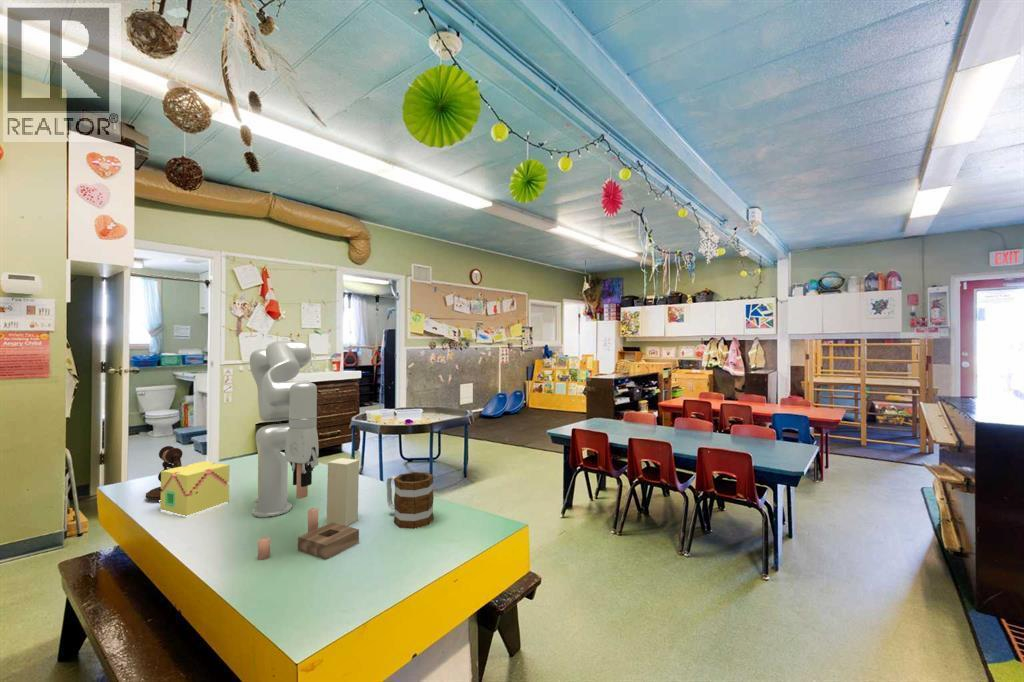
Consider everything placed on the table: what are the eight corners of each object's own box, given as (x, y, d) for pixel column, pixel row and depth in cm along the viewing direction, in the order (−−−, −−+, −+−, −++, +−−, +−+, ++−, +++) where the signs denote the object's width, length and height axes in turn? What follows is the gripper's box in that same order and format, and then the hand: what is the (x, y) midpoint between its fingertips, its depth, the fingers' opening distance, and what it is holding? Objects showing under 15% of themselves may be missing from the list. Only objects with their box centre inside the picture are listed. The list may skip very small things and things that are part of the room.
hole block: (297, 550, 124) (297, 536, 124) (331, 534, 135) (331, 522, 135) (325, 559, 119) (326, 545, 119) (358, 542, 129) (359, 529, 130)
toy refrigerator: (360, 519, 147) (360, 459, 148) (345, 527, 140) (345, 464, 141) (341, 516, 150) (342, 457, 150) (326, 524, 143) (326, 462, 144)
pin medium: (305, 536, 134) (305, 510, 134) (313, 532, 136) (314, 507, 137) (312, 538, 132) (312, 512, 133) (320, 534, 135) (320, 509, 135)
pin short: (255, 558, 120) (255, 540, 120) (265, 553, 122) (266, 536, 122) (262, 560, 118) (262, 542, 118) (272, 556, 121) (272, 538, 121)
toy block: (160, 512, 154) (161, 471, 154) (203, 499, 168) (204, 461, 168) (186, 518, 148) (187, 475, 149) (228, 504, 162) (229, 464, 163)
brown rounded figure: (198, 494, 172) (199, 445, 173) (153, 506, 160) (155, 453, 161) (183, 488, 180) (184, 441, 181) (139, 498, 168) (140, 448, 168)
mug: (441, 518, 149) (441, 475, 149) (414, 532, 137) (414, 485, 137) (401, 507, 159) (401, 467, 159) (372, 520, 147) (373, 476, 147)
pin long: (294, 497, 127) (294, 457, 127) (303, 494, 129) (303, 455, 130) (300, 499, 125) (301, 458, 126) (309, 496, 128) (310, 456, 128)
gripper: (274, 423, 129) (273, 484, 128) (309, 427, 121) (308, 492, 120) (297, 420, 135) (296, 478, 135) (331, 423, 127) (331, 485, 127)
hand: (302, 484), depth 127 cm, fingers closed on pin long, 3 cm apart
